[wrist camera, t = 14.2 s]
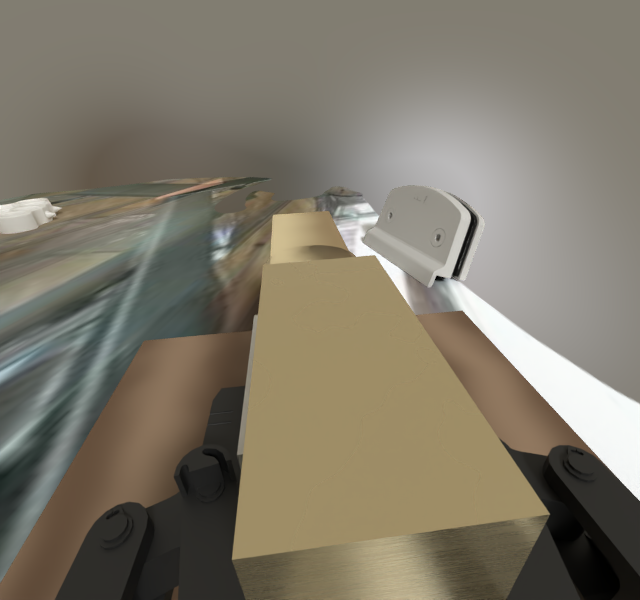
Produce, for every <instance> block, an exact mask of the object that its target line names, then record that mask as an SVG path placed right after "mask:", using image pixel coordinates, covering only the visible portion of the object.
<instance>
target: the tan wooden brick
mask: <svg viewBox="0 0 640 600" xmlns="http://www.w3.org/2000/svg"><path fill="white" fill-rule="evenodd" d="M549 515H550V513H549V512H548V510H547V509H546V507H545V506H544V505H543V503H542V502H541V500H540V499H539V497H538V496H537V494H536V493H535V491H534V490H533V488H532V487H531V485H530V484H529V482H528V481H527V479H526V478H525V476H524V475H523V474H522V472H521V471H520V469H519V468H518V466H517V465H516V463H515V462H514V460H513V459H512V457H511V456H510V454H509V453H508V451H507V450H506V448H505V447H504V445H503V444H502V442H501V441H500V440H499V438H498V437H497V435H496V434H495V432H494V431H493V429H492V428H491V426H490V425H489V423H488V422H487V420H486V419H485V417H484V416H483V414H482V413H481V411H480V410H479V409H478V407H477V406H476V404H475V403H474V401H473V400H472V398H471V397H470V395H469V394H468V392H467V391H466V389H465V388H464V386H463V385H462V383H461V382H460V380H459V379H458V377H457V376H456V375H455V373H454V372H453V370H452V369H451V367H450V366H449V364H448V363H447V361H446V360H445V358H444V357H443V355H442V354H441V352H440V351H439V349H438V348H437V346H436V345H435V344H434V342H433V341H432V339H431V338H430V336H429V335H428V333H427V332H426V330H425V329H424V327H423V326H422V324H421V323H420V321H419V320H418V318H417V317H416V315H415V314H414V312H413V311H412V310H411V308H410V307H409V305H408V304H407V302H406V301H405V299H404V298H403V296H402V295H401V293H400V292H399V290H398V289H397V287H396V286H395V284H394V283H393V281H392V280H391V279H390V277H389V276H388V274H387V273H386V271H385V270H384V268H383V267H382V265H381V264H380V262H379V261H378V259H377V258H376V256H375V255H373V256H361V257H349V258H337V259H325V260H313V261H301V262H289V263H277V264H265V265H263V273H262V282H261V291H260V301H259V310H258V319H257V329H256V338H255V348H254V357H253V366H252V376H251V385H250V394H249V404H248V413H247V422H246V432H245V441H244V451H243V460H242V469H241V479H240V488H239V497H238V507H237V516H236V525H235V535H234V544H233V554H232V562H233V565H234V567H235V570H236V573H237V576H238V579H239V582H240V585H241V587H242V590H243V593H244V596H245V599H246V600H506V599H507V597H508V595H509V593H510V591H511V589H512V587H513V585H514V583H515V581H516V579H517V577H518V575H519V573H520V571H521V570H522V568H523V566H524V564H525V562H526V560H527V558H528V556H529V554H530V552H531V550H532V548H533V546H534V544H535V542H536V541H537V539H538V537H539V535H540V533H541V531H542V529H543V527H544V525H545V523H546V521H547V519H548V517H549Z"/></svg>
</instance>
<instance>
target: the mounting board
mask: <svg viewBox="0 0 640 600" xmlns="http://www.w3.org/2000/svg"><path fill="white" fill-rule="evenodd" d="M349 257H356V256H355V255H354V254H353V253H351V252H350V251H349V250H348V249H347V247H346V245H345V243H344V241H343V239H342V237H341V235H340V233H339V231H338V229H337V227H336V225H335V223H334V221H333V219H332V217H331V215H330V213H329V211H323V212H309V213H295V214H281V215H273V224H272V241H271V257H270V258H269V259H268V261H267V262H266V264H277V263H289V262H301V261H313V260H325V259H337V258H349ZM416 317H417V318H418V320H419V321H420V323H421V324H422V326H423V327H424V329H425V330H426V332H427V333H428V335H429V336H430V338H431V339H432V341H433V342H434V344H435V345H436V346H437V348H438V349H439V351H440V352H441V354H442V355H443V357H444V358H445V360H446V361H447V363H448V364H449V366H450V367H451V369H452V370H453V372H454V373H455V375H456V376H457V377H458V379H459V380H460V382H461V383H462V385H463V386H464V388H465V389H466V391H467V392H468V394H469V395H470V397H471V398H472V400H473V401H474V403H475V404H476V406H477V407H478V409H479V410H480V411H481V413H482V414H483V416H484V417H485V419H486V420H487V422H488V423H489V425H490V426H491V428H492V429H493V431H494V432H495V434H496V435H497V437H498V438H500V439H501V440H502V441H504V442H505V443H506V444H507V445H508V446H509V447H510V448H511V449H514V450H518V451H521V452H527V453H533V454H539V455H545V456H548V454H549V452H550V450H551V449H552V448H553V447H556V446H558V445H570V446H574V447H577V448H581V449H583V450H585V451H586V452H588V453H590V454H592V455H594V456H595V457H596V458H597V459H598V460H600V459H599V458H598V456H597V455H596V454H595V453H594V452H593V451H592V450H591V449H590V448H589V447H588V446H587V445H586V444H585V442H584V441H583V440H582V439H581V438H580V437H579V436H578V435H577V434H576V433H575V432H574V431H573V430H572V428H571V427H570V426H569V425H568V424H567V423H566V422H565V421H564V420H563V419H562V418H561V417H560V416H559V414H558V413H557V412H556V411H555V410H554V409H553V408H552V407H551V406H550V405H549V404H548V403H547V401H546V400H545V399H544V398H543V397H542V396H541V395H540V394H539V393H538V392H537V391H536V390H535V389H534V387H533V386H532V385H531V384H530V383H529V382H528V381H527V380H526V379H525V378H524V377H523V376H522V375H521V373H520V372H519V371H518V370H517V369H516V368H515V367H514V366H513V365H512V364H511V363H510V362H509V361H508V359H507V358H506V357H505V356H504V355H503V354H502V353H501V352H500V351H499V350H498V349H497V348H496V347H495V345H494V344H493V343H492V342H491V341H490V340H489V339H488V338H487V337H486V336H485V335H484V334H483V332H482V331H481V330H480V329H479V328H478V327H477V326H476V325H475V324H474V323H473V322H472V321H471V320H470V318H469V317H468V316H467V315H466V314H465V313H464V312H463V311H455V312H444V313H433V314H423V315H416ZM251 338H252V331H243V332H233V333H222V334H211V335H201V336H190V337H180V338H169V339H159V340H148V341H144V342H143V344H142V345H141V347H140V349H139V350H138V352H137V354H136V355H135V357H134V359H133V361H132V362H131V364H130V366H129V367H128V369H127V371H126V372H125V374H124V376H123V377H122V379H121V381H120V382H119V384H118V386H117V388H116V389H115V391H114V393H113V394H112V396H111V398H110V399H109V401H108V403H107V404H106V406H105V408H104V409H103V411H102V413H101V415H100V416H99V418H98V420H97V421H96V423H95V425H94V426H93V428H92V430H91V431H90V433H89V435H88V436H87V438H86V440H85V441H84V443H83V445H82V447H81V448H80V450H79V452H78V453H77V455H76V457H75V458H74V460H73V462H72V463H71V465H70V467H69V468H68V470H67V472H66V474H65V475H64V477H63V479H62V480H61V482H60V484H59V485H58V487H57V489H56V490H55V492H54V494H53V495H52V497H51V499H50V500H49V502H48V504H47V506H46V507H45V509H44V511H43V512H42V514H41V516H40V517H39V519H38V521H37V522H36V524H35V526H34V527H33V529H32V531H31V533H30V534H29V536H28V538H27V539H26V541H25V543H24V544H23V546H22V548H21V549H20V551H19V553H18V554H17V556H16V558H15V559H14V561H13V563H12V565H11V566H10V568H9V570H8V571H7V573H6V575H5V576H4V578H3V580H2V581H1V583H0V600H55V598H56V596H57V594H58V592H59V590H60V588H61V585H62V583H63V581H64V579H65V577H66V575H67V573H68V571H69V569H70V567H71V565H72V563H73V561H74V559H75V557H76V555H77V553H78V551H79V549H80V547H81V545H82V543H83V541H84V539H85V537H86V535H87V533H88V531H89V530H90V528H91V527H92V525H93V524H94V522H95V521H96V520H97V519H98V518H99V517H101V516H102V515H103V514H104V513H105V512H106V511H108V510H109V509H111V508H113V507H115V506H116V505H119V504H122V503H126V502H136V503H140V504H141V505H142V506H143V507H145V508H147V507H150V506H152V505H154V504H156V503H159V502H161V501H163V500H166V499H168V498H170V497H172V496H173V495H175V494H177V493H178V492H179V488H178V486H177V484H176V481H175V479H174V473H175V470H176V466H177V465H178V464H179V462H180V461H181V459H182V458H183V457H184V456H185V455H186V454H188V453H189V452H190V451H191V450H193V449H195V448H197V447H200V446H202V445H203V440H204V436H205V432H206V427H207V426H208V425H207V423H208V419H209V416H210V410H211V406H212V402H213V399H214V398H215V396H216V395H217V394H218V392H219V391H220V390H221V388H229V387H238V386H246V378H247V370H248V362H249V354H250V346H251ZM600 461H601V460H600ZM601 462H602V461H601ZM602 463H603V462H602ZM603 464H604V463H603ZM604 465H605V464H604ZM605 466H606V465H605ZM606 467H607V466H606ZM607 468H608V467H607ZM608 469H609V468H608ZM609 470H610V469H609ZM610 471H611V470H610ZM178 587H179V586H177V587H175V588H174V590H173V594H172V598H171V600H178Z"/></svg>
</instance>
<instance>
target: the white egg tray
mask: <svg viewBox="0 0 640 600" xmlns="http://www.w3.org/2000/svg"><path fill="white" fill-rule="evenodd" d="M60 209H62V208H59V207H55V206H52V205H51V203H50V202H49V201H48V199H46V198H39V199H30V200H24V201H19V202H15V203H12V204H7V205H0V232H1V233H3V234H11V233H19V232H24V231H29V230H33V229H36V228H38V226H40V225H42V224H44V223H48V222H50V221H52V220H53V217H55V216H56V214H55V213H56V212H57V211H59V210H60Z"/></svg>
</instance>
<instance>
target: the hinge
mask: <svg viewBox="0 0 640 600" xmlns="http://www.w3.org/2000/svg"><path fill="white" fill-rule="evenodd" d="M484 226H485V221H484V219H483V218H482V216H481V215H480V214H479V213H478V212H477V211H476V210H474V209H473V208H472V207H471V206H470V205H468V204H467V203H466V202H464V201H463V200H461V199H460V198H458V197H457V196H455V195H453V194H451V193H448V192H445V191H442V190H439V189H436V188H432V187H427V186H415V185H409V186H402V187H398V188H395V189H393V190H392V191H391V192H390V193H389V195H388V198H387V200H386V203H385V205H384V207H383V209H382V212H381V214H380V216H379V219H378V221H377V223H376V225H375V227H373V228H372V229H370V230H368V231H367V233H366V235H365V238H364V241H363V243H364V244H366V245H367V246H369V247H370V248H371V249H373V250H374V251H376V252H377V253H379V254H380V255H382V256H383V257H384V258H386V259H387V260H389V261H390V262H392V263H393V264H395V265H396V266H397V267H399V268H400V269H402V270H403V271H405V272H406V273H408V274H409V275H410V276H412V277H413V278H415V279H416V280H418V281H419V282H421V283H422V284H423V285H425V286H426V287H432V285H433V282H434V280H435V278H436V276H441V277H445V278H449V279H451V276H453V277H454V278H456V279H458V280H461V281H465V279H466V277H467V274H468V271H469V268H470V266H471V263H472V260H473V257H474V255H475V252H476V249H477V246H478V243H479V240H480V238H481V235H482V232H483V229H484Z"/></svg>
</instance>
